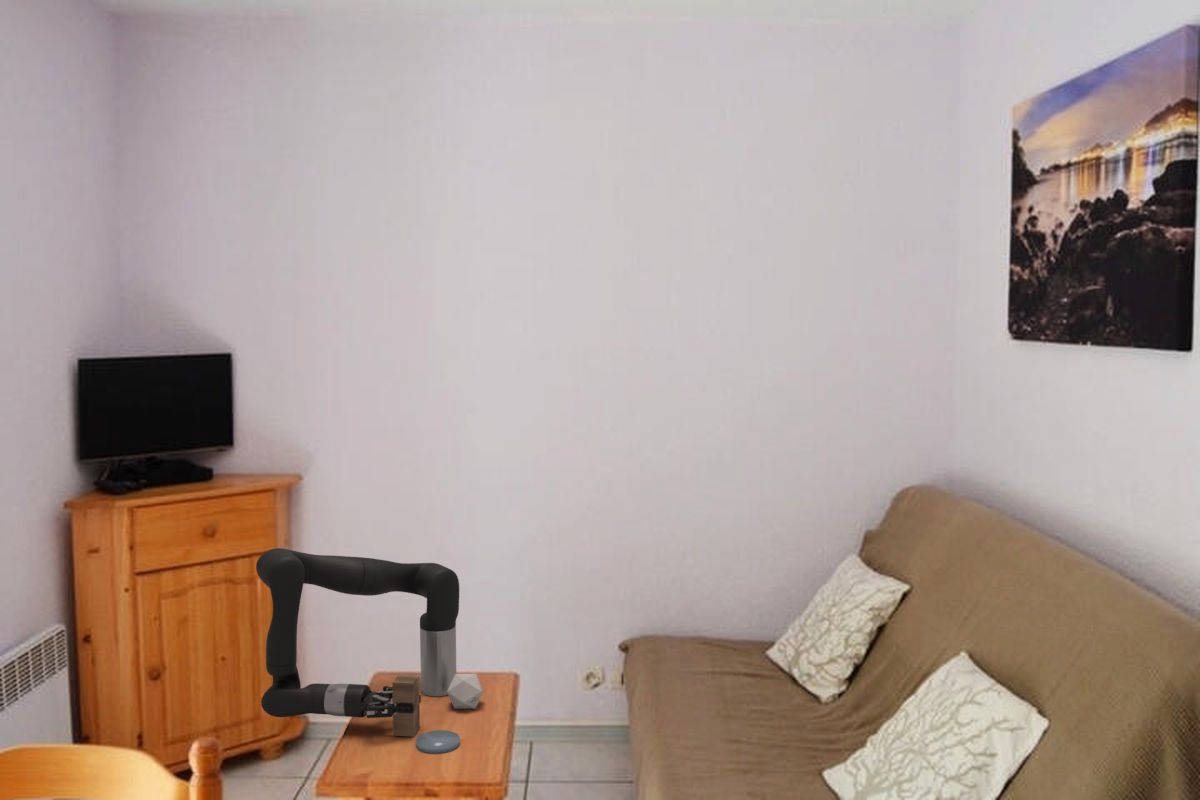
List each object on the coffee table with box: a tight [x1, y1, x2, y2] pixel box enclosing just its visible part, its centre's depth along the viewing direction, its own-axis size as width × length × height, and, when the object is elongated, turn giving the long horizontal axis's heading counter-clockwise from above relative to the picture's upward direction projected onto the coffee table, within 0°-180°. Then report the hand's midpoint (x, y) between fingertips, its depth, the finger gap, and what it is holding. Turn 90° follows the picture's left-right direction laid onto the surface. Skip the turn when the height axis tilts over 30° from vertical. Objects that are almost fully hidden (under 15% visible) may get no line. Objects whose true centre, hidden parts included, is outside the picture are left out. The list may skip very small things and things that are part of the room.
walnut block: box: [391, 674, 421, 738], centre depth 258 cm, size 5×5×13 cm
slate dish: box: [415, 729, 461, 755], centre depth 253 cm, size 10×10×1 cm
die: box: [447, 673, 484, 710], centre depth 274 cm, size 8×9×10 cm
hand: (416, 703), depth 258 cm, fingers closed on walnut block, 5 cm apart
